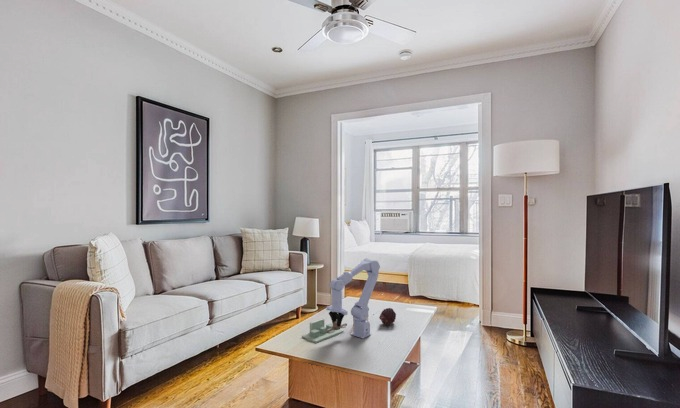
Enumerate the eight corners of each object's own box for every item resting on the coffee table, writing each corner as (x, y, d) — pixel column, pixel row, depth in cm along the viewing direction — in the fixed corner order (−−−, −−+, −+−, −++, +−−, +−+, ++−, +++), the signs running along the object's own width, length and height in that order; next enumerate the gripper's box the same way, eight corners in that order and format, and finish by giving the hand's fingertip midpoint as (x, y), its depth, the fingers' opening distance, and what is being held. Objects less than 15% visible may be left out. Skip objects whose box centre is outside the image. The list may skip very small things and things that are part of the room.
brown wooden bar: (349, 326, 202) (349, 319, 202) (329, 333, 190) (329, 326, 190) (343, 324, 205) (343, 317, 205) (323, 331, 193) (323, 324, 193)
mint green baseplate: (343, 332, 209) (343, 320, 209) (316, 343, 193) (316, 330, 193) (329, 327, 217) (329, 316, 217) (301, 337, 201) (301, 325, 201)
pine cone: (385, 318, 234) (385, 303, 234) (400, 321, 229) (400, 305, 229) (375, 327, 218) (376, 310, 218) (391, 329, 213) (391, 313, 213)
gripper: (322, 300, 200) (322, 324, 200) (341, 305, 190) (341, 330, 190) (331, 297, 205) (331, 320, 205) (350, 302, 195) (350, 326, 195)
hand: (336, 325), depth 198 cm, fingers closed on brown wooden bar, 3 cm apart
